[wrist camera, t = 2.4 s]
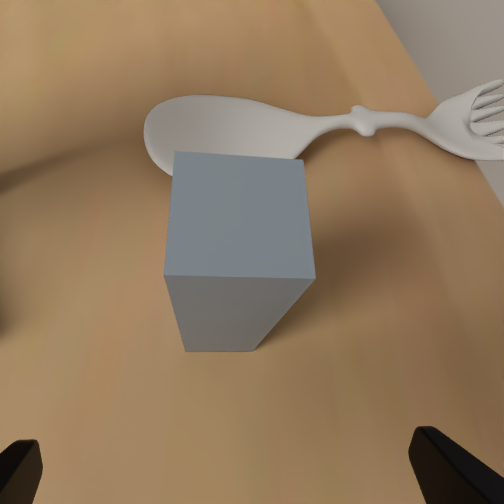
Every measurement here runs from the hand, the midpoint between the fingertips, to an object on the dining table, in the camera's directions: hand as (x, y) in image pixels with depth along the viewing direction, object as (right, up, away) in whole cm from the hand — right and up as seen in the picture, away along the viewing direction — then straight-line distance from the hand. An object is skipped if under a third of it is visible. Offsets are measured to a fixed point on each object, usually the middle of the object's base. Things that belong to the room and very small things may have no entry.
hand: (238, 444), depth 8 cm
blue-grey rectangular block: (-2, 0, +13) cm, 13 cm away
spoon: (+8, +13, +21) cm, 26 cm away
